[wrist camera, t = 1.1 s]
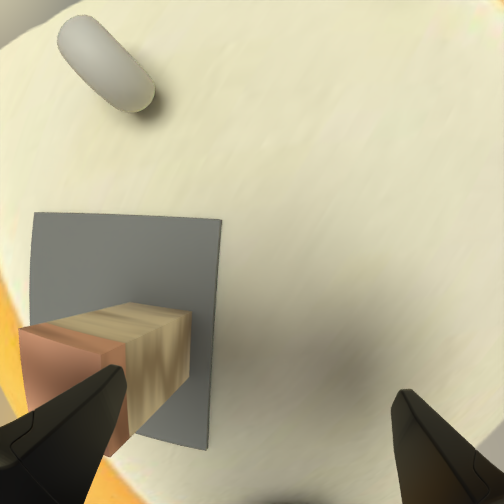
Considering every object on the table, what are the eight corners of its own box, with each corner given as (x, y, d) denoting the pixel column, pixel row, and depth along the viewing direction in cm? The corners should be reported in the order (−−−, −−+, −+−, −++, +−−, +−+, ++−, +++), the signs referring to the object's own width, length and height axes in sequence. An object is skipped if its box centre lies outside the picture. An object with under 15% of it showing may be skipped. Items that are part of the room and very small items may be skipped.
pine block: (189, 377, 22) (110, 457, 11) (129, 364, 23) (30, 421, 12) (192, 311, 22) (100, 354, 11) (130, 302, 23) (18, 328, 12)
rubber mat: (207, 447, 22) (206, 450, 22) (40, 394, 25) (37, 395, 24) (221, 220, 23) (220, 219, 22) (37, 213, 25) (34, 212, 25)
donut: (98, 75, 25) (36, 23, 15) (125, 51, 24) (70, -9, 14) (147, 139, 24) (74, 83, 14) (180, 110, 23) (121, 40, 13)
